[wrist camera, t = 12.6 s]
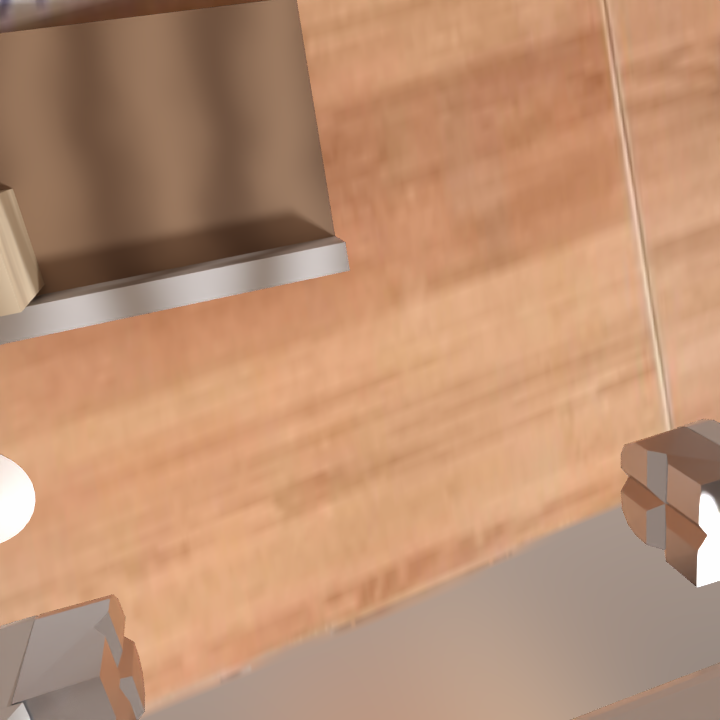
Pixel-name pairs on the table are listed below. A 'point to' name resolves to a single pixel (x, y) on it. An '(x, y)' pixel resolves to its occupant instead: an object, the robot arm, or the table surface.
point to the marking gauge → (16, 259)
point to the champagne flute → (14, 499)
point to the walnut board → (163, 162)
